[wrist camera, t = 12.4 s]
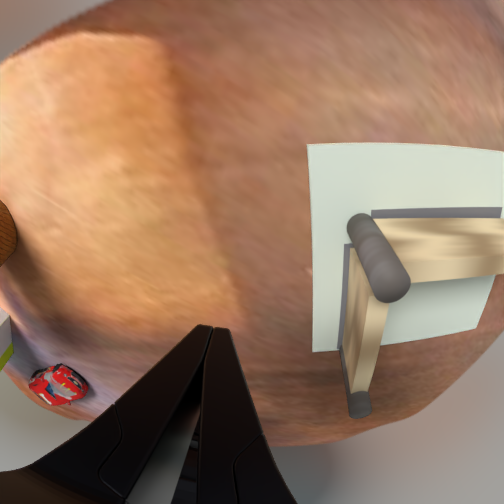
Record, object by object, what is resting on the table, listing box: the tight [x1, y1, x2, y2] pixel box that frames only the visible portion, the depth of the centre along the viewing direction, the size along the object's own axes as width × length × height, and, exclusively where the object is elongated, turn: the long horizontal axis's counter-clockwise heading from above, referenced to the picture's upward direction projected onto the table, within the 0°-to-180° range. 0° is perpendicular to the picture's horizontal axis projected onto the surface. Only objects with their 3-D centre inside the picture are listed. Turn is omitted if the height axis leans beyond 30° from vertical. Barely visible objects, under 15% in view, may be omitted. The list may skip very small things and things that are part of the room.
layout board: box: [307, 143, 504, 352], centre depth 19 cm, size 16×16×1 cm
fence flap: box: [347, 213, 504, 303], centre depth 14 cm, size 13×2×6 cm, turn 95°
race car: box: [29, 363, 88, 406], centre depth 31 cm, size 13×5×4 cm, turn 118°
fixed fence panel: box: [339, 248, 389, 419], centre depth 18 cm, size 10×2×7 cm, turn 7°
